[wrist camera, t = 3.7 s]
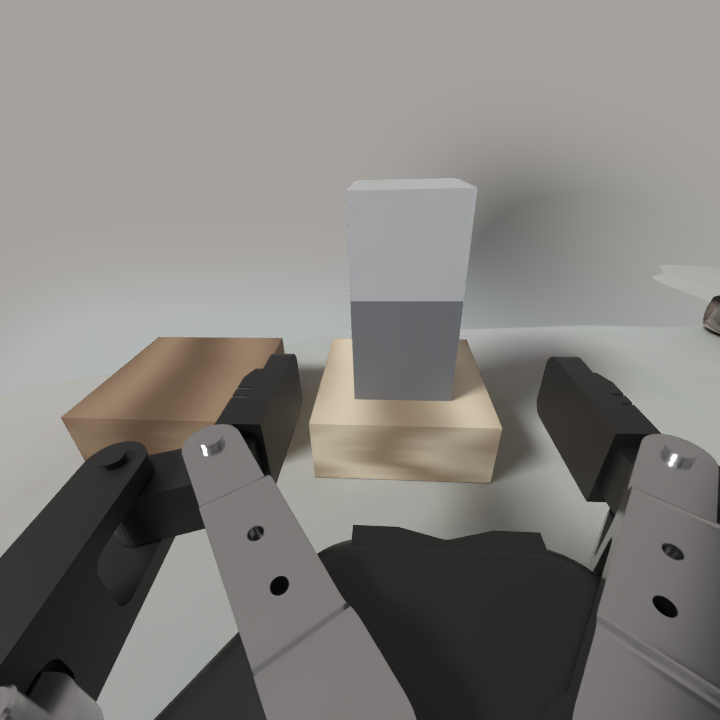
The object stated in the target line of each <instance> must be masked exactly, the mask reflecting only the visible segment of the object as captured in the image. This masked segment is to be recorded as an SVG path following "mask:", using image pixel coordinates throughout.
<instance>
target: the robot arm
mask: <svg viewBox="0 0 720 720" xmlns="http://www.w3.org/2000/svg"><path fill="white" fill-rule="evenodd" d="M232 396H233V397H232V398H231V399H230V400H229V402H228V403H227V405H226V407H225V408H224V410H223V411H222V413H221V415H220V416H219V418H218V419H217V421H216V423H215V424H214V425H212V426H208V427H205V428H202V429H200V430H198V431H196V432H195V433H193V434H192V435H191V436H190V437H189V438H188V439H187V440H186V441H185V442H184V444H183V446H182V448H181V449H177V450H172V451H167V452H162V453H157V454H152V455H149V454H148V451H147V449H146V447H145V446H144V445H143V444H142V443H140V442H136V441H125V442H119V443H116V444H113V445H110V446H107V447H105V448H103V449H101V450H99V451H98V452H96V453H95V454H93V455H92V456H91V457H89V458H88V459H87V460H86V461H85V462H84V463H83V465H82V466H81V467H80V468H79V469H78V470H77V471H76V473H75V474H74V475H73V476H72V477H71V478H70V479H69V480H68V482H67V483H66V484H65V485H64V486H63V487H62V488H61V490H60V491H59V492H58V493H57V494H56V495H55V496H54V498H53V499H52V500H51V501H50V502H49V503H48V504H47V505H46V507H45V508H44V509H43V510H42V511H41V512H40V513H39V515H38V516H37V517H36V518H35V519H34V520H33V521H32V522H31V524H30V525H29V526H28V527H27V528H26V529H25V530H24V532H23V533H22V534H21V535H20V536H19V537H18V538H17V540H16V541H15V542H14V543H13V544H12V545H11V546H10V547H9V549H8V550H7V551H6V552H5V553H4V554H3V555H2V557H1V558H0V720H104V718H103V713H102V710H101V708H100V707H99V705H98V704H97V703H96V701H97V699H98V697H99V695H100V692H101V690H102V688H103V686H104V684H105V682H106V680H107V678H108V676H109V674H110V672H111V670H112V667H113V665H114V663H115V661H116V659H117V657H118V655H119V653H120V651H121V649H122V647H123V644H124V642H125V640H126V638H127V636H128V634H129V632H130V630H131V628H132V626H133V624H134V622H135V619H136V617H137V615H138V613H139V611H140V609H141V607H142V605H143V603H144V601H145V599H146V597H147V594H148V592H149V590H150V588H151V586H152V584H153V582H154V580H155V578H156V576H157V574H158V572H159V569H160V567H161V565H162V563H163V561H164V559H165V557H166V555H167V553H168V551H169V549H170V547H171V544H172V542H173V540H174V538H175V536H177V535H181V534H185V533H189V532H193V531H197V530H201V529H206V532H207V535H208V538H209V541H210V544H211V547H212V550H213V553H214V556H215V559H216V562H217V565H218V568H219V572H220V575H221V578H222V581H223V584H224V587H225V590H226V593H227V596H228V599H229V602H230V605H231V608H232V611H233V614H234V618H235V621H236V624H237V627H238V630H239V632H238V633H237V634H236V635H235V636H234V637H233V638H232V639H231V640H230V641H229V642H228V643H227V644H226V645H225V646H224V647H223V648H222V649H221V650H220V651H219V652H218V654H217V655H216V656H215V657H214V658H213V659H212V660H211V661H210V662H209V663H208V664H207V665H206V666H205V667H204V668H203V669H202V670H201V671H200V672H199V673H198V674H197V675H196V676H195V677H194V678H193V680H192V681H191V682H190V683H189V684H188V685H187V686H186V687H185V688H184V689H183V690H182V691H181V692H180V693H179V694H178V695H177V696H176V697H175V698H174V699H173V700H172V701H171V702H170V703H169V704H168V706H167V707H166V708H165V709H164V710H163V711H162V712H161V713H160V714H159V715H158V716H157V717H156V718H155V719H154V720H720V466H718V465H717V462H716V461H715V460H714V458H713V457H712V456H711V455H710V454H709V453H707V452H706V451H705V450H703V449H702V448H700V447H699V446H697V445H695V444H693V443H691V442H689V441H687V440H684V439H681V438H678V437H675V436H671V435H665V434H661V433H660V432H659V431H658V430H657V428H656V427H655V426H654V425H653V424H652V423H651V422H650V421H649V420H648V419H647V418H646V417H645V416H644V415H643V414H642V413H641V412H640V411H639V410H638V409H637V408H636V406H635V405H632V402H631V401H630V400H629V399H628V398H627V397H626V396H623V393H622V392H621V391H620V390H619V389H618V388H617V387H616V386H615V384H614V383H613V382H611V381H609V380H608V379H606V378H604V377H602V376H601V375H599V374H597V373H593V372H592V371H591V370H590V369H589V368H588V367H587V365H586V364H585V363H584V362H583V361H582V360H581V359H580V358H579V357H551V358H549V360H548V361H547V364H546V368H545V371H544V375H543V379H542V383H541V386H540V390H539V394H538V398H537V411H538V415H539V417H540V419H541V421H542V423H543V425H544V426H545V428H546V430H547V432H548V433H549V435H550V437H551V439H552V441H553V442H554V444H555V446H556V448H557V449H558V451H559V453H560V455H561V457H562V458H563V460H564V462H565V464H566V466H567V467H568V469H569V471H570V473H571V474H572V476H573V478H574V480H575V482H576V483H577V485H578V487H579V489H580V490H581V492H582V494H583V496H584V498H585V499H586V501H587V502H607V504H608V506H609V507H610V508H609V510H608V512H607V514H606V516H605V519H604V522H603V525H602V528H601V531H600V534H599V537H598V540H597V543H596V546H595V549H594V552H593V555H592V558H591V561H590V564H589V567H588V568H587V567H585V566H583V565H582V564H580V563H578V562H576V561H574V560H572V559H570V558H568V557H566V556H564V555H562V554H559V553H556V552H554V551H551V550H547V549H546V547H545V544H544V542H543V539H542V537H541V534H540V533H534V532H510V531H490V532H485V533H480V534H475V535H471V536H466V537H461V538H456V539H451V540H444V539H439V538H436V537H432V536H429V535H425V534H422V533H418V532H414V531H411V530H407V529H404V528H400V527H388V526H364V525H353V532H352V540H348V541H344V542H341V543H338V544H335V545H332V546H330V547H328V548H326V549H324V550H322V551H321V552H319V553H318V554H317V553H316V552H315V550H314V548H313V547H312V545H311V543H310V541H309V540H308V538H307V536H306V535H305V533H304V531H303V529H302V528H301V526H300V524H299V523H298V521H297V519H296V518H295V516H294V514H293V512H292V511H291V509H290V507H289V506H288V504H287V502H286V500H285V499H284V497H283V495H282V494H281V492H280V490H279V488H278V487H277V485H276V483H277V480H278V477H279V474H280V471H281V468H282V465H283V462H284V459H285V456H286V453H287V450H288V447H289V444H290V441H291V438H292V435H293V432H294V429H295V426H296V423H297V420H298V417H299V414H300V410H301V402H302V396H301V387H300V379H299V372H298V364H297V358H296V356H295V354H271V355H270V357H269V359H268V361H267V362H266V364H265V366H264V368H263V369H254V370H253V371H252V372H250V373H249V374H247V375H246V376H245V377H244V378H243V379H242V381H241V383H240V384H239V386H238V389H236V391H235V392H234V394H233V395H232Z"/></svg>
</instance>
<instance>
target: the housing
mask: <svg viewBox="0 0 720 720" xmlns="http://www.w3.org/2000/svg"><path fill="white" fill-rule="evenodd" d="M476 195H477V187H475V186H472V185H470V184H468V183H466V182H464V181H461V180H459V179H457V178H446V179H445V178H444V179H404V180H403V179H401V180H362V181H361V180H360V181H355V182H354V183H353V184H352V185H351V186H350V187H349V188H348V189H347V190H346V203H347V228H348V249H349V252H348V253H349V277H350V301H351V325H352V349H353V374H354V398H355V399H363V400H413V401H451V398H452V390H453V382H454V374H455V366H456V357H457V349H458V341H459V333H460V325H461V317H462V309H463V299H464V292H465V284H466V276H467V268H468V260H469V252H470V244H471V235H472V227H473V219H474V210H475V203H476Z"/></svg>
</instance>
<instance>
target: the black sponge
mask: <svg viewBox="0 0 720 720" xmlns="http://www.w3.org/2000/svg"><path fill="white" fill-rule="evenodd" d="M702 323H703V325H704V326H705V327H706V328H708V329H710V330H712V331H714V332H717V333H719V334H720V296H715V297H713V299H712V300H711V302H710V303H709V305H708V307H707V309H706V311H705V314H704V319H703V322H702Z"/></svg>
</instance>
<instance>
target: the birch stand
mask: <svg viewBox="0 0 720 720" xmlns="http://www.w3.org/2000/svg"><path fill="white" fill-rule="evenodd" d="M309 429H310V437H311V446H312V454H313V462H314V470H315V477H332V478H360V479H388V480H416V481H444V482H472V483H491V478H492V473H493V469H494V464H495V460H496V455H497V451H498V446H499V442H500V437H501V433H502V426H501V424H500V421H499V419H498V416H497V414H496V412H495V409H494V407H493V404H492V402H491V399H490V397H489V394H488V392H487V389H486V387H485V384H484V382H483V379H482V377H481V374H480V372H479V369H478V367H477V364H476V362H475V360H474V357H473V355H472V352H471V350H470V347H469V345H468V342H467V340H459V341H458V349H457V357H456V366H455V374H454V382H453V390H452V398H451V401H413V400H363V399H355V398H354V374H353V349H352V339H333V342H332V346H331V349H330V353H329V356H328V359H327V363H326V366H325V370H324V373H323V377H322V380H321V384H320V387H319V390H318V394H317V397H316V401H315V404H314V408H313V411H312V414H311V418H310V421H309Z"/></svg>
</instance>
